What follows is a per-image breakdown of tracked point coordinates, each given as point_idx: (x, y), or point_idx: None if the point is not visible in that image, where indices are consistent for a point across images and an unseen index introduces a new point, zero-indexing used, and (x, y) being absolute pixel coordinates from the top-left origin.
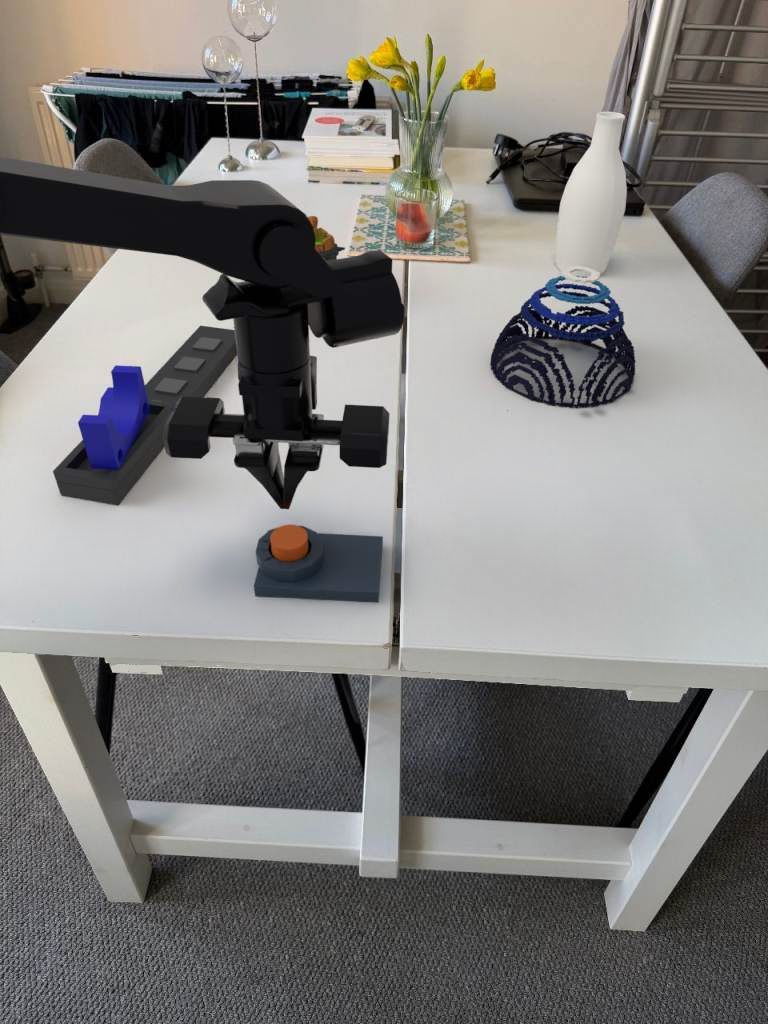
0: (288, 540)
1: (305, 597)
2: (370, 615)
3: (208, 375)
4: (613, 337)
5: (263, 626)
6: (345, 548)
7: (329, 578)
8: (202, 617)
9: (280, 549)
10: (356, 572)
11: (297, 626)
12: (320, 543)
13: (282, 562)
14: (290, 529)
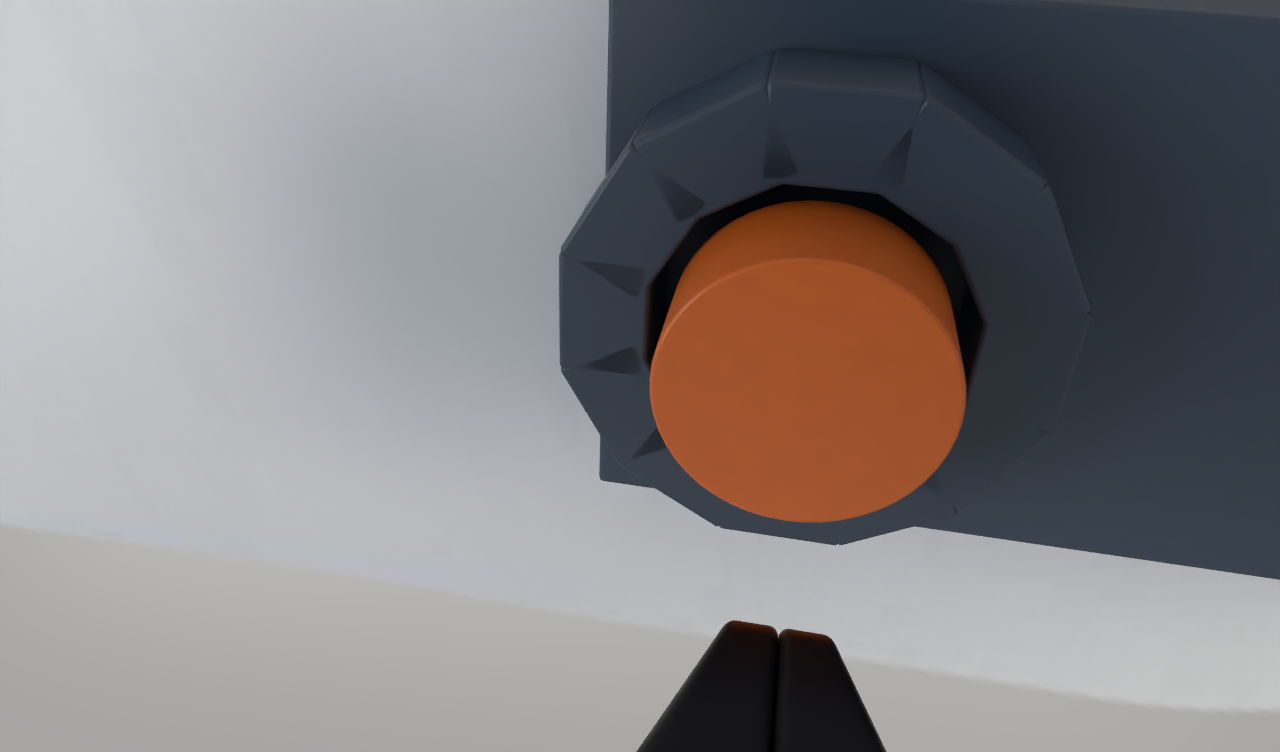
0: (798, 441)
1: None
2: (1255, 599)
3: None
4: None
5: (683, 594)
6: (1263, 199)
7: (1068, 468)
8: (397, 522)
9: (739, 504)
10: (1278, 437)
11: (846, 612)
12: (1063, 322)
13: None
14: (813, 323)
